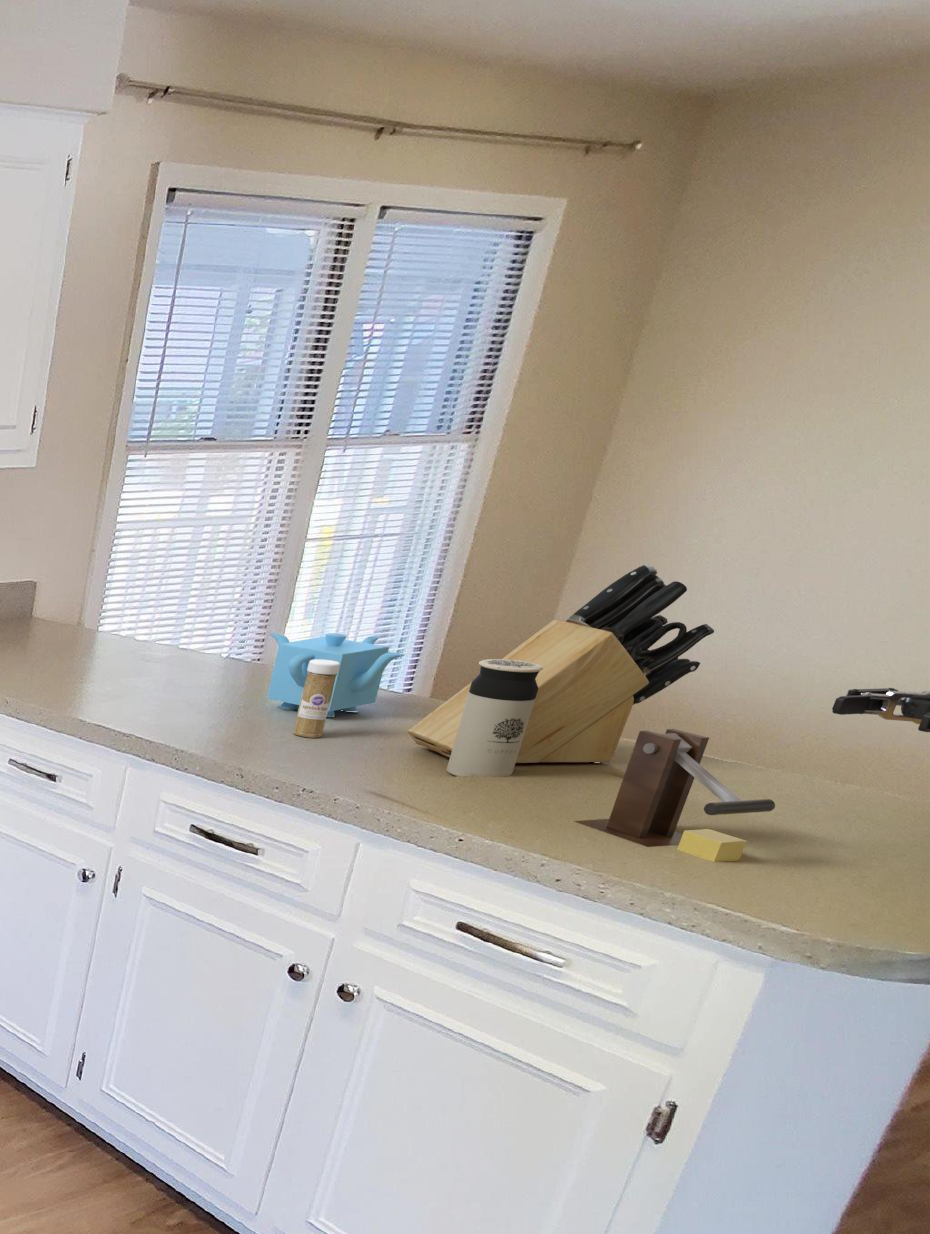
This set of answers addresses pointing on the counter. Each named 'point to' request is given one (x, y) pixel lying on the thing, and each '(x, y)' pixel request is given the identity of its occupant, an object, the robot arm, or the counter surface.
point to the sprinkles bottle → (316, 698)
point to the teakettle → (352, 680)
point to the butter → (711, 845)
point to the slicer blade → (717, 787)
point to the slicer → (652, 790)
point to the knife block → (588, 673)
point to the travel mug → (494, 718)
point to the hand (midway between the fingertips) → (880, 713)
